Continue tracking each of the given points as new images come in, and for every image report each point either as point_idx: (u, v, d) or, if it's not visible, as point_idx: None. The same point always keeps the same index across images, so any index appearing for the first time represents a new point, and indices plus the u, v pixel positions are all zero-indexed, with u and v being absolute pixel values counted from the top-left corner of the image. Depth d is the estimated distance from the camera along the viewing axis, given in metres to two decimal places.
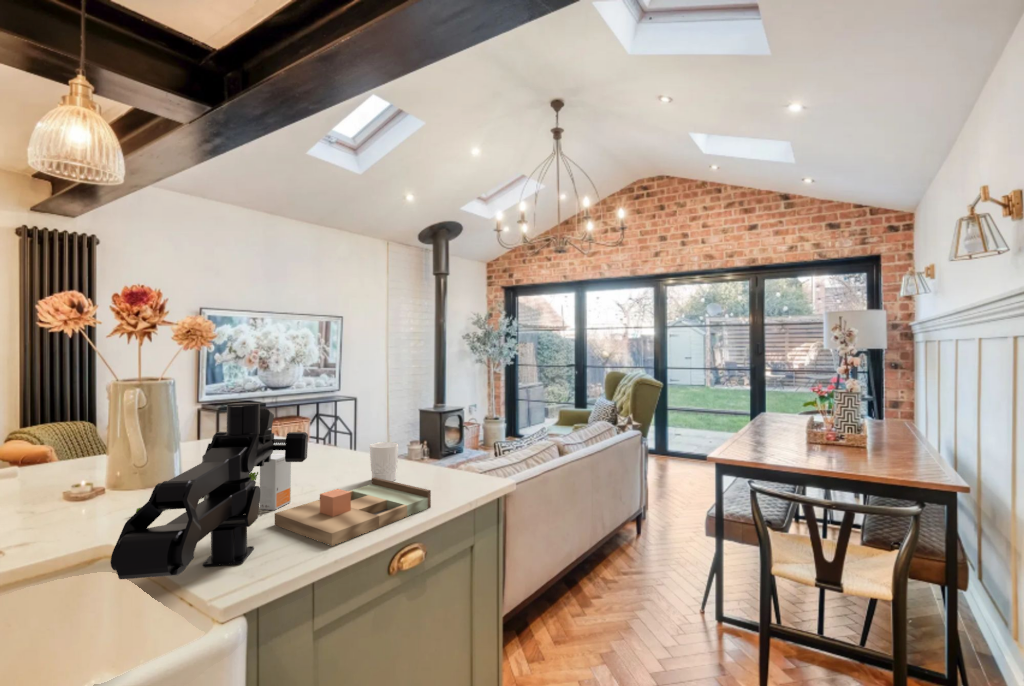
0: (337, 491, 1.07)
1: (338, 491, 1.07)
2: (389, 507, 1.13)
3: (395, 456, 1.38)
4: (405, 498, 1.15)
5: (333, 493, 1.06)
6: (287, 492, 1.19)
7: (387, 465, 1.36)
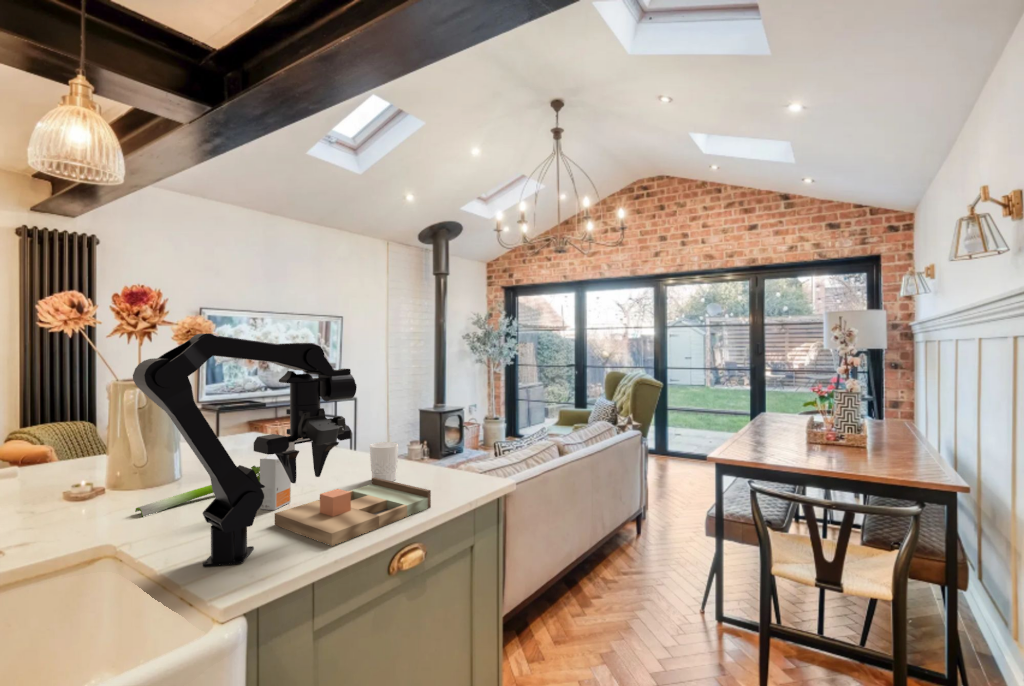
0: (337, 491, 1.07)
1: (338, 491, 1.07)
2: (389, 507, 1.13)
3: (395, 456, 1.38)
4: (405, 498, 1.15)
5: (333, 493, 1.06)
6: (287, 492, 1.19)
7: (387, 465, 1.36)
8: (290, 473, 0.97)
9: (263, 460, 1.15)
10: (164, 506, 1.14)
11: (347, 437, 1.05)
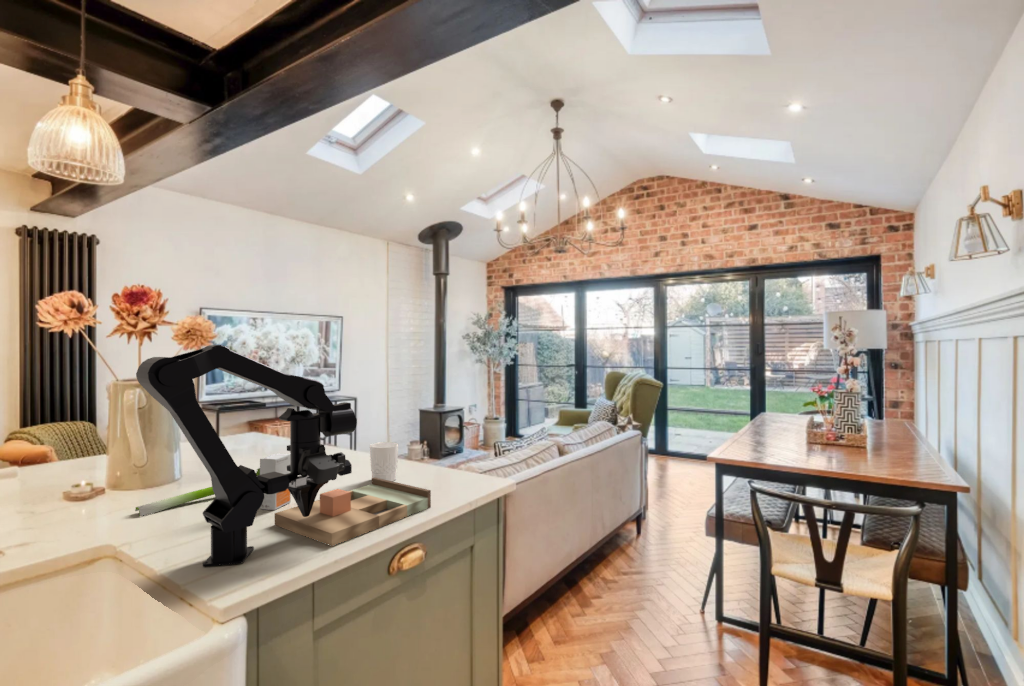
0: (337, 491, 1.07)
1: (338, 491, 1.07)
2: (389, 507, 1.13)
3: (395, 456, 1.38)
4: (405, 498, 1.15)
5: (333, 493, 1.06)
6: (287, 492, 1.19)
7: (387, 465, 1.36)
8: (302, 507, 0.99)
9: (263, 460, 1.15)
10: (162, 506, 1.14)
11: (347, 472, 1.05)
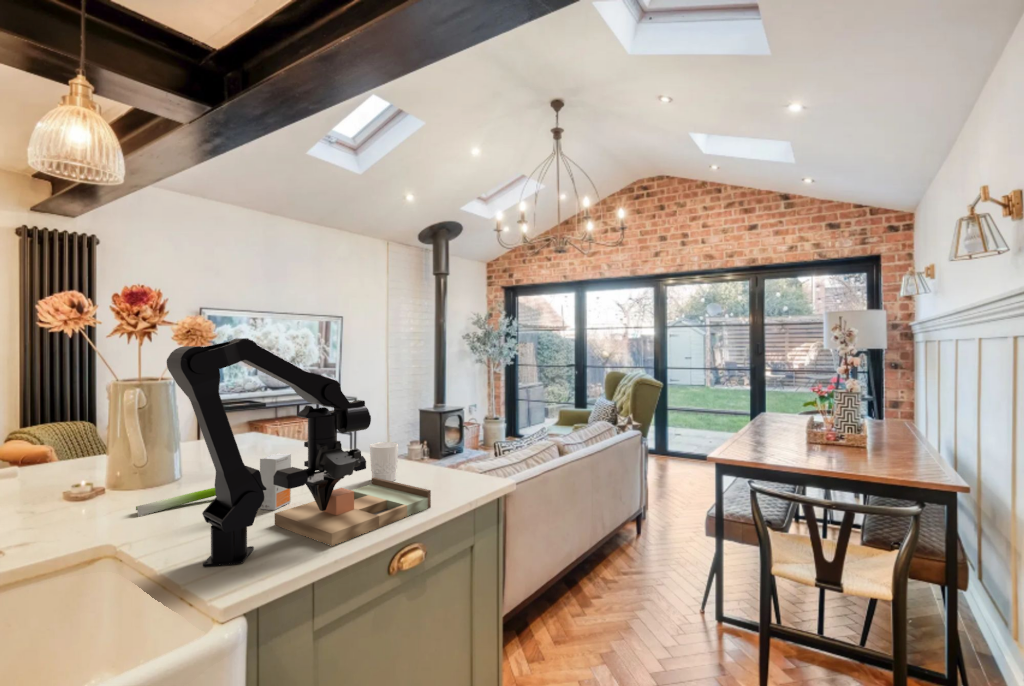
0: (341, 490, 1.08)
1: (342, 490, 1.08)
2: (389, 507, 1.13)
3: (395, 456, 1.38)
4: (405, 498, 1.15)
5: (337, 492, 1.07)
6: (287, 492, 1.19)
7: (387, 465, 1.36)
8: (319, 501, 1.03)
9: (263, 460, 1.15)
10: (161, 506, 1.14)
11: (362, 467, 1.08)
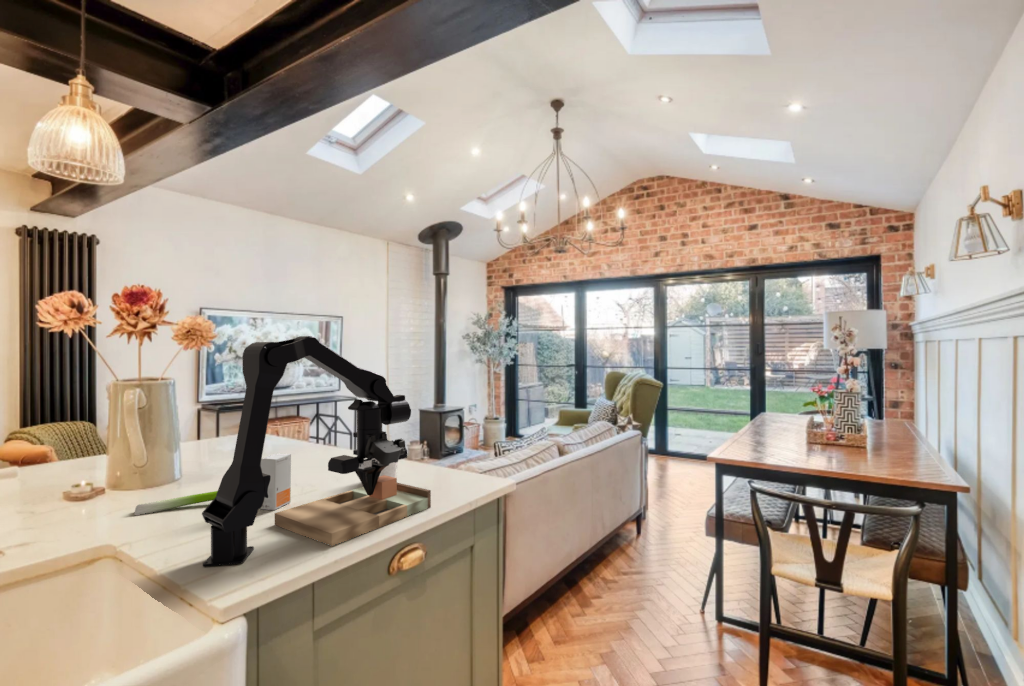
0: (384, 477, 1.18)
1: (385, 477, 1.18)
2: (389, 507, 1.13)
3: None
4: (405, 498, 1.15)
5: (381, 479, 1.17)
6: (287, 492, 1.19)
7: None
8: (367, 486, 1.13)
9: (263, 460, 1.15)
10: (159, 507, 1.13)
11: (404, 456, 1.19)
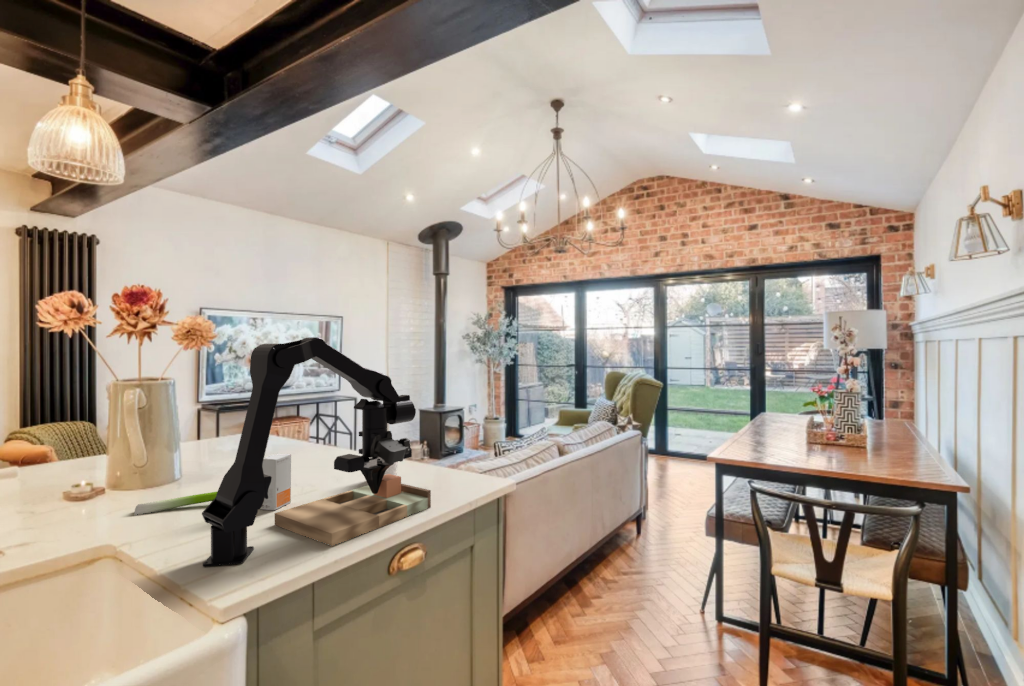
0: (389, 476, 1.19)
1: (389, 476, 1.19)
2: (389, 507, 1.13)
3: None
4: (405, 498, 1.15)
5: (386, 477, 1.18)
6: (287, 492, 1.18)
7: None
8: (372, 485, 1.14)
9: (263, 460, 1.15)
10: (158, 507, 1.13)
11: (408, 456, 1.20)
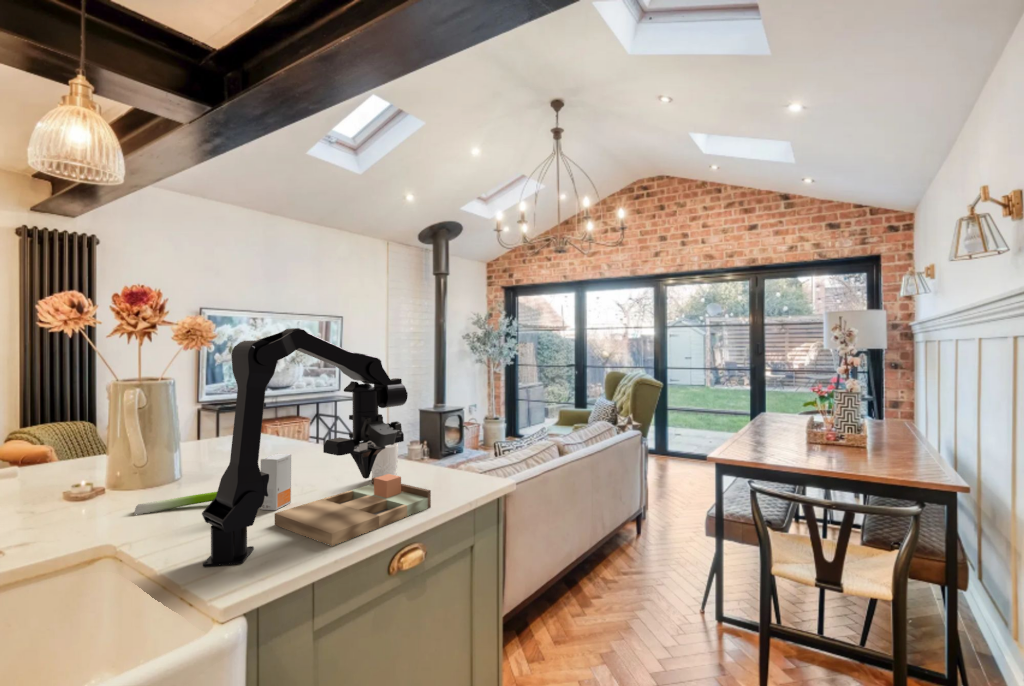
0: (389, 476, 1.19)
1: (389, 476, 1.19)
2: (389, 507, 1.13)
3: (395, 456, 1.38)
4: (405, 498, 1.15)
5: (386, 477, 1.18)
6: (288, 492, 1.18)
7: (387, 465, 1.36)
8: (363, 469, 1.12)
9: (264, 460, 1.15)
10: (158, 507, 1.14)
11: (400, 440, 1.18)
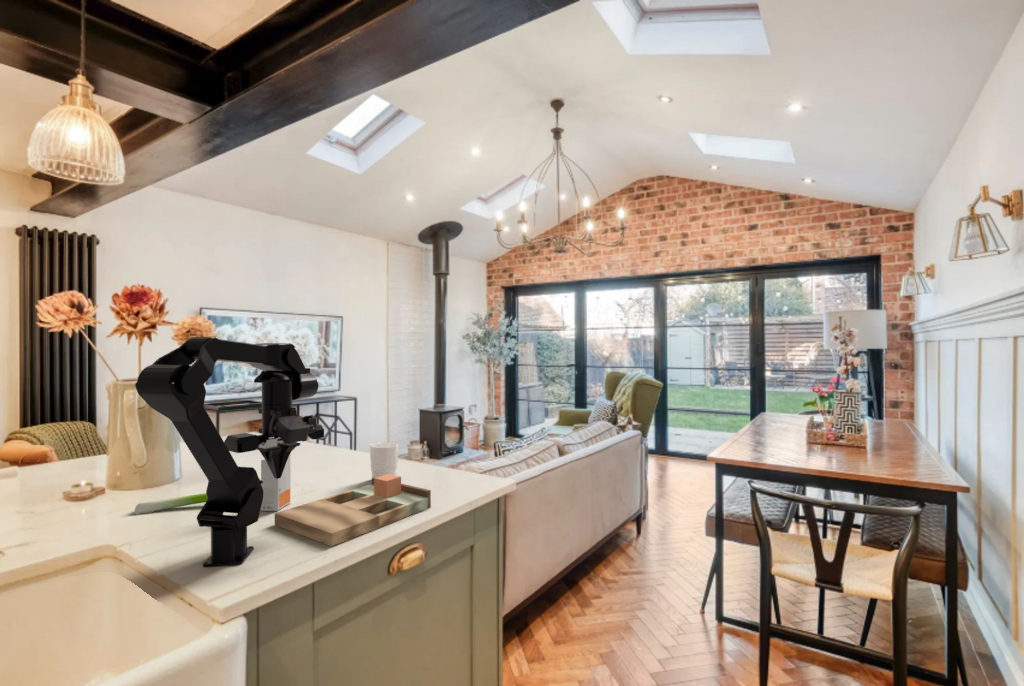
0: (389, 476, 1.19)
1: (389, 476, 1.19)
2: (389, 507, 1.13)
3: (395, 456, 1.38)
4: (405, 498, 1.15)
5: (386, 477, 1.18)
6: (288, 493, 1.18)
7: (387, 465, 1.36)
8: (273, 469, 1.01)
9: (265, 461, 1.14)
10: (158, 507, 1.14)
11: (320, 436, 1.07)
